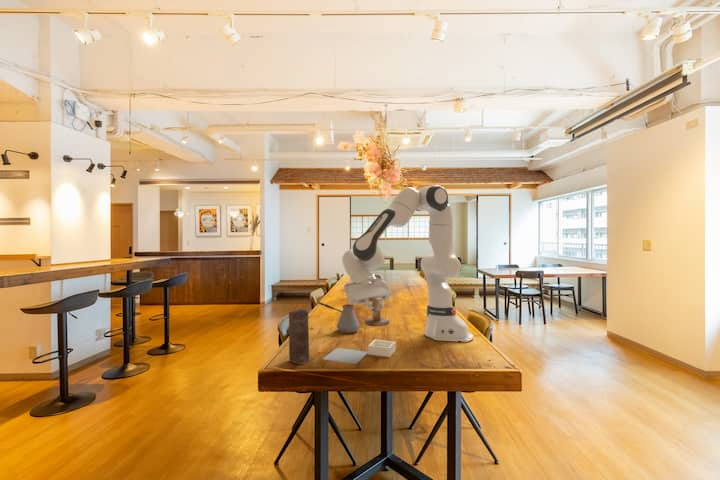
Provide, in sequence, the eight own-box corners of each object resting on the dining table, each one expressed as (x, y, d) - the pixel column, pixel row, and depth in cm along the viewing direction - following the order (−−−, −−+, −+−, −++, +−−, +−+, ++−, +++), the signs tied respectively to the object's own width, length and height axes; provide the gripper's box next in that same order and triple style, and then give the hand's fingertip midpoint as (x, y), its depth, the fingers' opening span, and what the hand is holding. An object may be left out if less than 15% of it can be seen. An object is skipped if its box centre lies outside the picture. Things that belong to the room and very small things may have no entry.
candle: (291, 367, 124) (291, 312, 124) (286, 361, 130) (286, 308, 130) (312, 364, 127) (312, 310, 127) (305, 357, 134) (305, 306, 134)
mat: (368, 353, 139) (368, 352, 139) (355, 365, 126) (355, 363, 126) (337, 349, 144) (337, 347, 144) (321, 360, 131) (321, 358, 131)
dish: (395, 351, 142) (395, 341, 142) (389, 358, 133) (389, 348, 133) (375, 348, 145) (375, 339, 145) (367, 355, 137) (367, 345, 137)
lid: (392, 320, 142) (391, 296, 141) (385, 327, 132) (384, 301, 132) (369, 319, 145) (368, 295, 145) (360, 325, 136) (360, 300, 135)
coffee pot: (358, 327, 178) (358, 299, 178) (360, 334, 167) (361, 303, 167) (316, 329, 176) (316, 299, 176) (316, 335, 164) (316, 304, 164)
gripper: (344, 279, 138) (358, 307, 130) (384, 275, 150) (400, 300, 142) (339, 289, 142) (352, 317, 134) (378, 284, 153) (393, 309, 145)
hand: (377, 308), depth 138 cm, fingers closed on lid, 3 cm apart
